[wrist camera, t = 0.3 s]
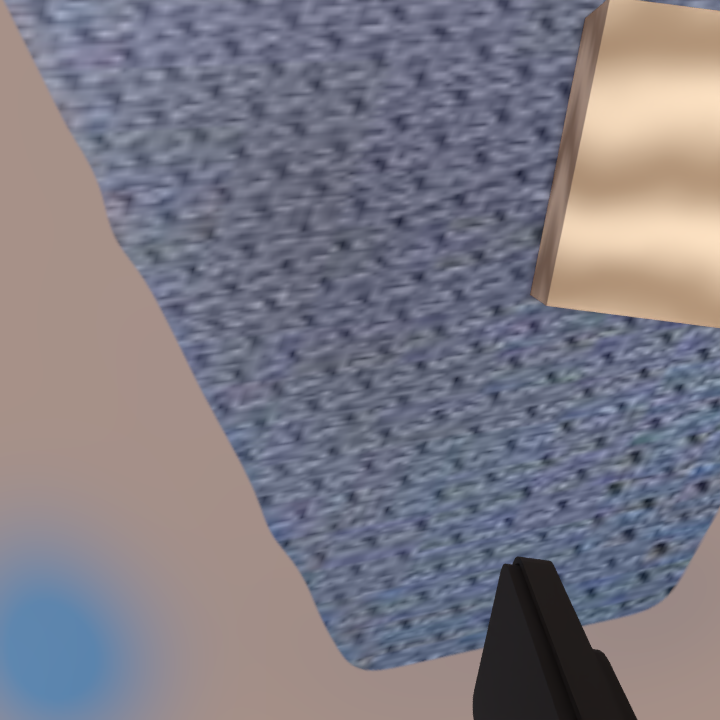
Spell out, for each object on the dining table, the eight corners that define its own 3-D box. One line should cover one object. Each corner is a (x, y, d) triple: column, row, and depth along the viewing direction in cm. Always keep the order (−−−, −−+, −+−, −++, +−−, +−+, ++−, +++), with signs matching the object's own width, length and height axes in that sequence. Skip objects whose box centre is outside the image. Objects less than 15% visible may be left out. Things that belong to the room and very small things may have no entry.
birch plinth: (585, 18, 35) (610, -4, 31) (793, 45, 35) (844, 26, 31) (530, 294, 39) (546, 305, 35) (716, 318, 39) (752, 332, 35)
